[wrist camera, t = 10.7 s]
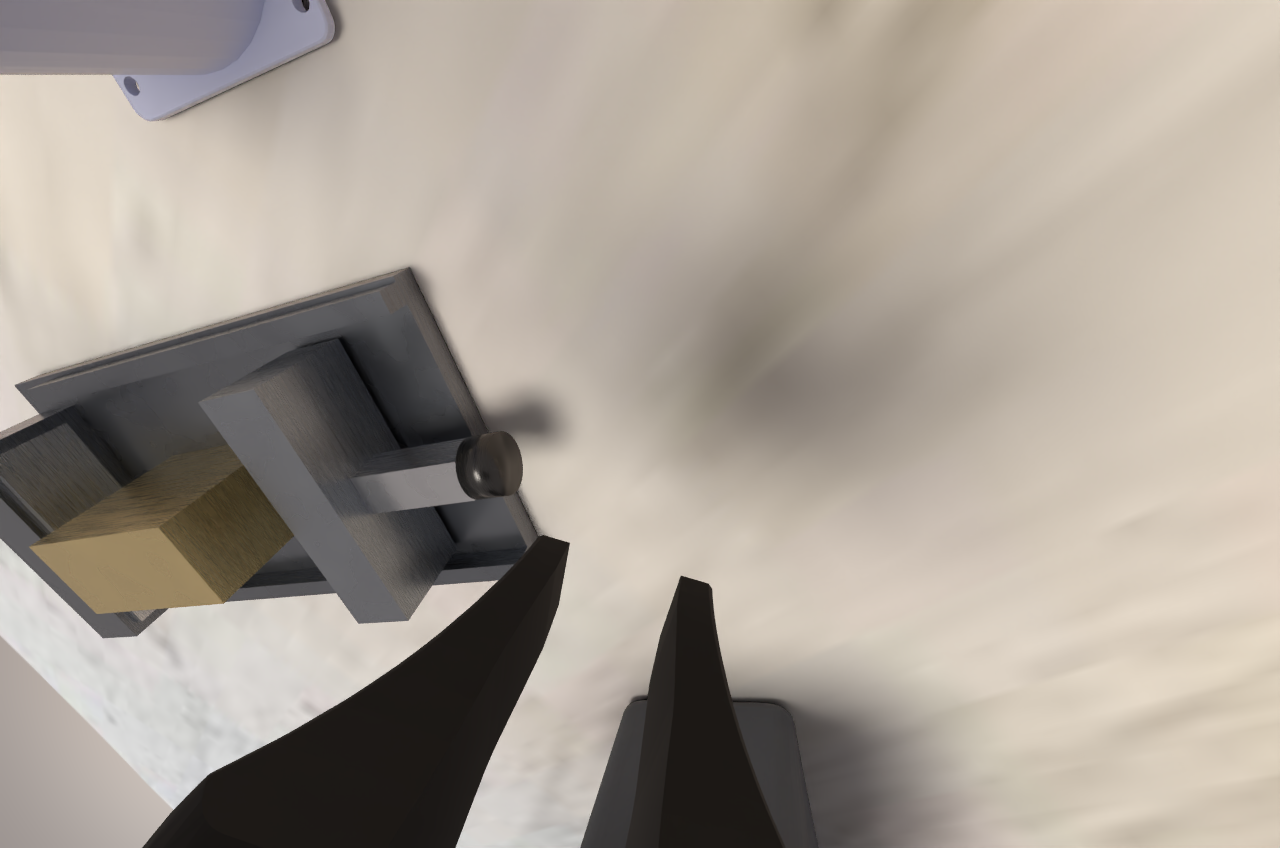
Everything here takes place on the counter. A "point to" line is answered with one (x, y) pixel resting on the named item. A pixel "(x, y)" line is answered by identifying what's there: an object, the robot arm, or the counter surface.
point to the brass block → (169, 537)
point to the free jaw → (355, 477)
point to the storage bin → (770, 756)
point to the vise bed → (176, 424)
